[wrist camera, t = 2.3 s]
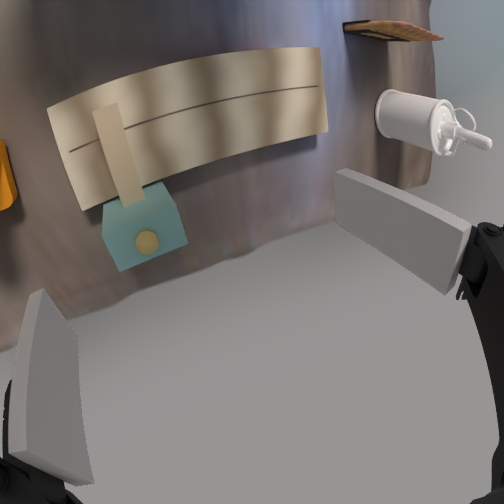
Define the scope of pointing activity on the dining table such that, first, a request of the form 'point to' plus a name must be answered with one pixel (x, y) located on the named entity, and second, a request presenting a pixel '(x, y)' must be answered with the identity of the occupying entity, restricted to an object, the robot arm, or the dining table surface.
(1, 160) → the orange bell-shaped figure
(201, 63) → the board
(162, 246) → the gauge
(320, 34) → the dining table surface
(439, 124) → the white smoke grenade
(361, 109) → the dining table surface
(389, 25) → the ammunition clip
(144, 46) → the dining table surface
